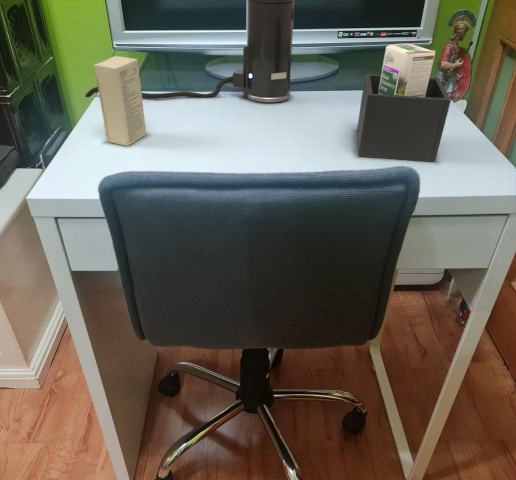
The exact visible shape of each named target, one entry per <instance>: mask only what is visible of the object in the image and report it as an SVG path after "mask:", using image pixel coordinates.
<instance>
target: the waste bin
mask: <svg viewBox="0 0 516 480" xmlns="http://www.w3.org/2000/svg"><path fill="white" fill-rule="evenodd" d="M380 79H381V74H373V73H365V74H364V80H363V87H362V92H361V93H362V94H361V100H360V107H359V113H358V120H357V127H356V138H357V140H356V141H357V155H358V157H360V158H374V159H388V160H399V161H415V162H416V161H417V162H430V163H435V162H436V159H437V157H438V152H439V148H440V145H441V140H442V136H443V132H444V129H445V125H446V121H447V118H448V114H449V110H450V105H451V101H452V100H451V97H450V96H449V94H448V92H447V90H446V88H445V86H444V84H443V83H442V81H441V79H440V77H430V78H429V82H428V86H427V91H426V95H425V97H414V96H398V95H381V94H378V91H379V85H380Z"/></svg>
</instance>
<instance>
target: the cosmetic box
mask: <svg viewBox="0 0 516 480" xmlns="http://www.w3.org/2000/svg"><path fill="white" fill-rule="evenodd" d="M93 68H94V74H95V78H96V85H97V86H96V87H98V91H99V92H98V97H99V102H100V109H101V112H102V120H103V125H104V132H105V137H106V142H107V143H111V144H114V145H115V144H116V145H121V146H125V147H128V146H130V145H132V144H133V143H135V142H137V141H138V140H140V139H142V138H143V137H145V136H146V135H147V128H146V119H145V112H144V103H143V98H142V94H141V93H142V87H141V79H140V70H139V61H138V58H132V57H127V56H119V55H114V56H111V57H109V58H107V59H104V60H101V61H99V62H97V63H94V64H93Z"/></svg>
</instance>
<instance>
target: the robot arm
mask: <svg viewBox="0 0 516 480" xmlns="http://www.w3.org/2000/svg"><path fill="white" fill-rule="evenodd" d="M295 2H296V0H246V15H245V16H246V21H245V22H246V25H245V26H246V27H245V28H246V30H245V31H246V32H245V33H246V34H245V37H246V38H245V39H246V40H245V42H246V44H245V45H243V50H242V67H238V68H237V69H236V70H234V72H232V75H231V76H228V77H225V78H223V79H222V80H220V81H219V82H218V83H217V84H216V87H215V90H214V91H211V92H209V93H200V92H193V91H173V92H164V93H150V92H149V93H147V92H141V94H142V99H143V98H144V99H155V100H156V99H170V98H179V97H180V98H181V97H188V98H189V97H190V98H196V99H210V98H214V97H216V96H218V95H219V94H220V92H221V88H222V87H223V86H224V85H226V84H228V83H230V82H232V87H233V88H239V89H242V98H243V99H249V100H251V101H253V102H259V103H266V104H267V103H270V104H271V103H279V102H284V101H287V100H289V99H290V97H291V95H290V94H291V91H290V89H291V74H292V73H291V72H292V71H291V70H292V55H293V54H292V51H293V37H294V35H293V34H294V19H295V18H294V17H295ZM96 93H99V91H98V86H96V87H93V88H90V90H88V92H86V94H85V96H84V98H90V97H92V96H93V95H94V94H96Z"/></svg>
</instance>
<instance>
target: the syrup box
mask: <svg viewBox="0 0 516 480" xmlns="http://www.w3.org/2000/svg"><path fill="white" fill-rule="evenodd" d="M384 51H385V52H384V56H383V63H382V67H381V74H380V75H381V79H380V85H379V91H378V94H381V95H398V96H414V97H425V95H426V91H427V86H428V82H429V78H431V73H432V70H433V69H432V68H433V64H434V60H435V55H436V50H431V49H428V48H425V47H422V46H419V45H416V44H413V43H394V44H389V45H387V46H385V50H384Z"/></svg>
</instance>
